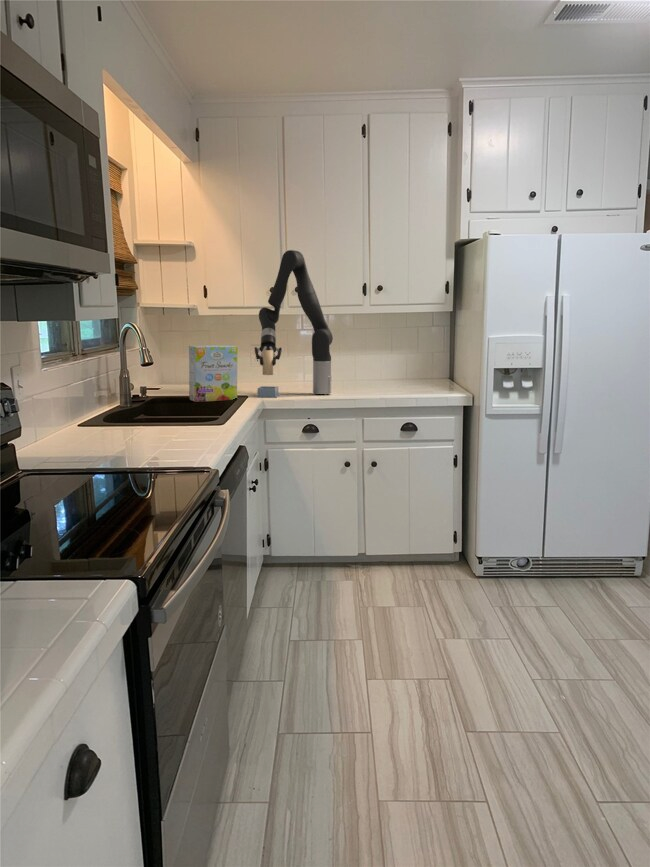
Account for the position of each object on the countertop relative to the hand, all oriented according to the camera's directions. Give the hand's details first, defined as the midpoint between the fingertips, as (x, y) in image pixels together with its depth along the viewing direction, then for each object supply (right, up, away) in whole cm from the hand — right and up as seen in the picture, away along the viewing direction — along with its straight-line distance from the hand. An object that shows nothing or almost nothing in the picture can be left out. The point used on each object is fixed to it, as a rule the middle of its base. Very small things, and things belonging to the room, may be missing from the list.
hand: (267, 364), depth 305 cm
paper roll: (0, -5, +3) cm, 6 cm away
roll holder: (0, -15, +5) cm, 16 cm away
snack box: (-25, -18, -11) cm, 33 cm away
